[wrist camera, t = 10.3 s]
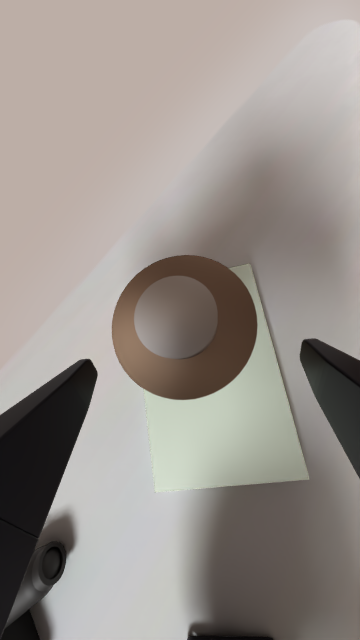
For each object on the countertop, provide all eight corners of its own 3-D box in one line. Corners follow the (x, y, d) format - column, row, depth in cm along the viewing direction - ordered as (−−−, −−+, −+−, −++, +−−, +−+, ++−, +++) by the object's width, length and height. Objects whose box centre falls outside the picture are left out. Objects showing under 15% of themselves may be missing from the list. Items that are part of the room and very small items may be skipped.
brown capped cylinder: (221, 386, 17) (233, 439, 5) (166, 365, 18) (71, 367, 6) (238, 329, 18) (285, 258, 6) (184, 313, 19) (131, 226, 7)
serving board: (302, 471, 16) (309, 479, 15) (158, 483, 17) (154, 492, 16) (248, 269, 20) (250, 263, 19) (136, 294, 22) (132, 290, 21)
